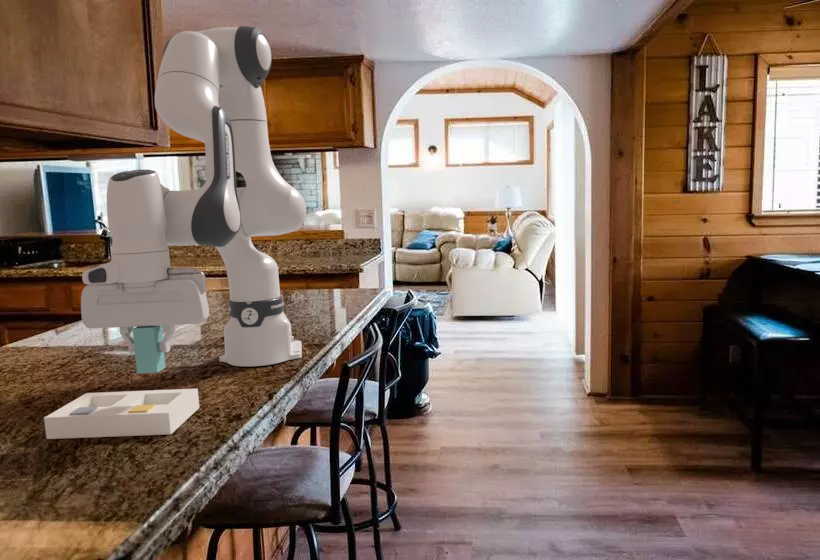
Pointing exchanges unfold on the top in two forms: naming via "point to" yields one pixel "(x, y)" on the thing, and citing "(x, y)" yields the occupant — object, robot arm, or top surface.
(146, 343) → the plug
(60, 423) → the socket block
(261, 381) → the top surface
